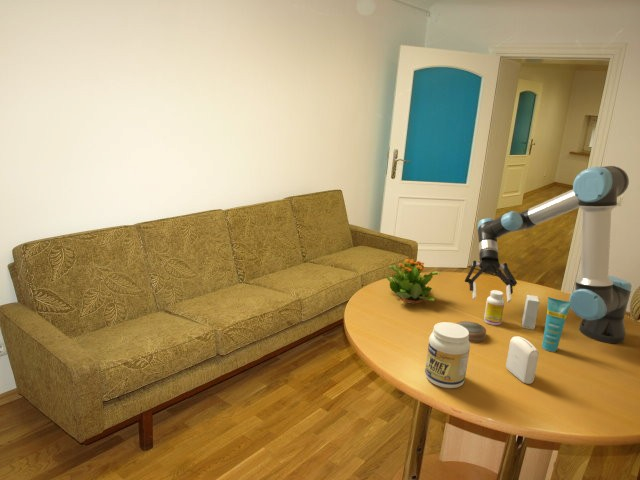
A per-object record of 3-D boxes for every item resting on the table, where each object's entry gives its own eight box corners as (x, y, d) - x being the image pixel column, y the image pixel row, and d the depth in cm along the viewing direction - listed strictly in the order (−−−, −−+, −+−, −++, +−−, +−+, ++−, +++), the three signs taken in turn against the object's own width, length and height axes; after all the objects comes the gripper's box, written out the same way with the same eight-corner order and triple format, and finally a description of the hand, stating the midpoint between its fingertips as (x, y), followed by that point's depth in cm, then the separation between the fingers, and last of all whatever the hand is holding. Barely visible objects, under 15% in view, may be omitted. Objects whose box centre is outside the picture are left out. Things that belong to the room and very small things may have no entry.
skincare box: (534, 330, 180) (539, 301, 176) (522, 328, 181) (527, 299, 178) (532, 323, 185) (538, 296, 182) (521, 321, 187) (526, 294, 183)
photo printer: (503, 367, 152) (509, 333, 149) (514, 366, 153) (520, 332, 150) (523, 385, 143) (530, 349, 139) (535, 383, 144) (542, 348, 140)
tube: (537, 348, 166) (547, 298, 161) (538, 342, 170) (548, 294, 165) (560, 354, 162) (571, 304, 157) (561, 348, 166) (572, 299, 161)
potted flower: (451, 308, 196) (456, 269, 191) (403, 314, 188) (407, 274, 183) (418, 286, 219) (422, 251, 214) (374, 291, 210) (377, 255, 205)
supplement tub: (416, 377, 144) (422, 327, 140) (437, 363, 153) (443, 316, 148) (451, 395, 136) (459, 343, 131) (471, 379, 144) (479, 330, 140)
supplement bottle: (502, 326, 181) (507, 296, 178) (484, 324, 183) (489, 294, 179) (499, 319, 188) (504, 290, 184) (482, 317, 189) (487, 288, 185)
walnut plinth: (491, 339, 171) (492, 331, 170) (469, 344, 166) (470, 336, 165) (469, 326, 180) (470, 318, 180) (448, 331, 176) (449, 323, 175)
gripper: (516, 259, 198) (520, 305, 188) (456, 254, 200) (458, 300, 190) (522, 251, 191) (527, 298, 181) (460, 246, 194) (462, 293, 183)
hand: (491, 299), depth 186 cm, fingers open, 13 cm apart
